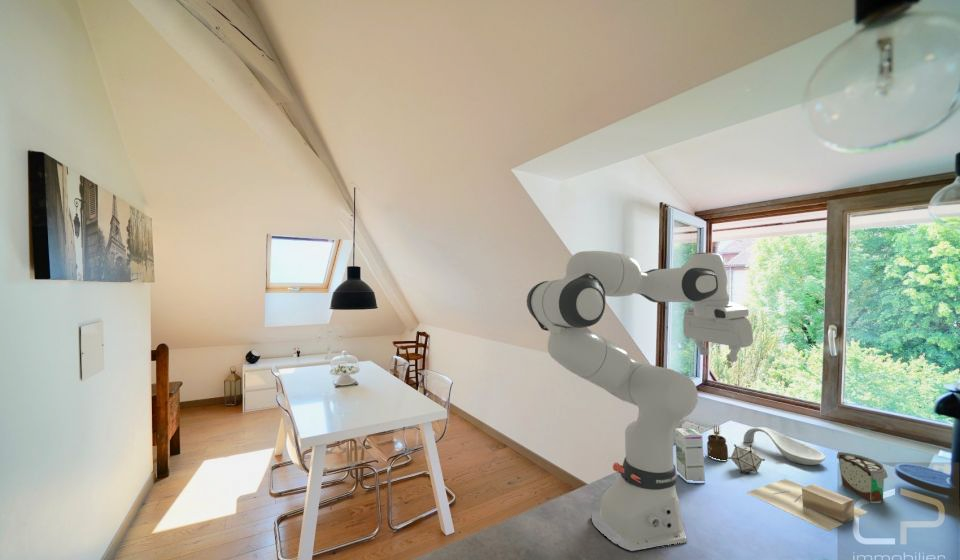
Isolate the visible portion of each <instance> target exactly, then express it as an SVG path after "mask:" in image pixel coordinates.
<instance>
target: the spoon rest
mask: <svg viewBox="0 0 960 560" xmlns="http://www.w3.org/2000/svg"><path fill="white" fill-rule="evenodd" d="M756 432H762V433H764V434H765V435H767V436H768V437H769V438H770V440H771V441H772V442H773V444H774V445H775V447H776V448H777V449H778V451H779V452H780V453H781V454H782V455H783V457H784V458H786V459H787V460H788V461H790V462H792V463H795V464H799V465H804V466H815V465H819V464H821V463H823V462H824V461H825V460H826V455H825V454H824V453H822V452H821V451H819V450H818V449H816V448H813V447H811V446H809V445H806V444H805V443H801V441H797V440H795V439H793V438H791V437H789V436H786V435H785V434H782V433H780V432H778V431H776V430H774V429H771V428H768V427H765V426H763V427H762V426H759V427H752V428H749V429H748V430H747V431H746V432H745V433H744V435H743V441H742V442H744V443H751V442H754V441H755V434H756Z"/></svg>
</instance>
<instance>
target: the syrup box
mask: <svg viewBox="0 0 960 560" xmlns="http://www.w3.org/2000/svg"><path fill="white" fill-rule="evenodd" d="M674 439H675V442H674V443H675V456H676V457H675V459H676V472H677V471H678V472H679V473H680V474H681V475H682V476H683V477H684V478H685V479H686V480H693V481H705V482H706V478H705V476H706V475H705V460H704V444H703V442H704V441H703V434H701V433H700V432H699V431H697V430H695V429H694V428H692V427H691V428H690V427H681V428H680V427H678V428H677V427H676V429H675V432H674Z"/></svg>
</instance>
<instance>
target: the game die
mask: <svg viewBox="0 0 960 560" xmlns="http://www.w3.org/2000/svg"><path fill="white" fill-rule="evenodd" d="M733 446H734V450H733V452H732V454H731V456H728V459H729V460H732V462H733V463H734V464H735V465H736V467H738V469H739V470H740V471H739V473H740V474H743V472H751V473H758V470H759V468H760V466H761V463H762V462H765V461H766V459H765V458H762V457H760V456H759V454H757V452H756V451H755V450H754V448H752V447H753V445H752V444H750V445H749V446H737V445H736V444H733Z"/></svg>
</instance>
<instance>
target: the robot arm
mask: <svg viewBox="0 0 960 560" xmlns="http://www.w3.org/2000/svg"><path fill="white" fill-rule="evenodd" d="M725 265H726V264H725V263H724V259H723V258H722V255H721V254H720V253H715V252H696V253H692V254H690V256H689V259H688V261H687V262H686V263H685V264H684V265H682V266H681V267H673V268H653V269H649V270H647V271H644V272H642V269H641V266H640V264H639V262H638V261H637V260H636V259H635V258H633V257H631V256H630V255H626V254H623V253H619V252H611V251H605V250H585V251H578V252H576V253H574V254H573V255H572V256H571V257H570V258H569V259H568V262H567V264H566V267H565V276H564V277H563V278H562V279H553V280H544V281H542V282H539V283H538V284H535V285H534V286H533V287H531V288H530V290H529V292H528V294H527V296H526V307H527V310H528V311H529V313H530V315H531V316H532V317H533V319H534V320H535V321H536V322H537V324H538V326H539V327H540V328H541V330H543V331H549V337H548V340H547V351H548V354H549V355H550V357H551V359H553V360H554V361H555V362H557V363H558V364H559V365H560V366H562V367H563V368H564V369H566V370H568V371H569V372H570V373H573V374H574V375H576V376H577V377H580V378H581V379H584V380H586V381H587V382H589V383H591V384H594V385H596V386H597V387H599V388H601V389H603V390H605V391H606V392H607V393H609V394H611V395H612V396H614V397H616V398H617V399H619V400H621V401H623V402H626V403H629V404H632V405H633V406H634V405H635V406H637V408H638V415H637V419H636V420H635V421H632V422H630V423H629V424H628V425H627V426H626V427H625V431H624V444H625V445H624V446H625V447H624V448H625V457H624V460H623V463H622V464H620V463H619V462H614V463H613V464H612V470H613V471H614V472H617V474H620V476H619V477H618V478H617V479H616V480H615V481H614V482H613V484H612V485H611V486H609V488H608V489H607V490H605V492H604V493H603V494H602V496H601V499H600V506H599V507H600V508H599V509H600V516H601V518H602V519H603V521H604V522H605V523H606V524H607V525H608V526H609V527H610V528H611V529H612V530H613V531H615V532H616V533H617V534H619V535H620V536H621V537H622V538H624V539H626V540H627V541H629V543H628V544H627V545H628V547H629V548H642V547H649V546H658V545H660V546H661V545H668V546H672V545H671V544H674V545H678V544H679V543H680V544H685V543H686V542H687V540H688V539H687V535H686V533H685V531H684V530H685V524H684V521H683V519H682V513H681V508H680V507H681V506H680V501H679V497H678V493H677V489H676V483H677V476H678V474H677V467H676V465H675V463H674V438H675V429H677V426H678V424H679V423H680V421H681V420H682V419H683V418H685V417H687V416H689V415H691V413H693V411H694V410H695V408H696V406H697V405H698V399H699V395H698V389H697V386H696V384H695V382H694V380H693V379H692V378H690V377H688V376H687V375H685V374H683V373H680V372H679V371H676V370H673V369H671V368H667V367H662V366H657V365H653V364H649V363H645V362H643V361H642V362H641V361H638V360H634V359H633V358H631V357H630V356H629V354H628V352H627V351H626V350H625V348H623V347H621V346H619V345H618V344H616V343H614V342H611V340H608V339H607V338H604V337H603V336H602V335H599V334H598V333H596V332H593V331H592V330H590V329H589V328H588V327H591V326H594V325H596V324H597V323H598V322H599V321H601V319H602V317H603V315H604V313H605V310H606V297H614V298H616V297H617V298H618V297H619V298H620V297H629V296H632V295H633V294H637V295H640V296H642V297H644V298H645V299H646V300H648V301H649V302H652V303H692V305H693V306H692V307H687V308H686V309H685V310H684V315H683V316H684V317H683V319H682V320H683V321H682V322H683V328H682V329H683V335H684V336H685V338H687V339H690V340H691V339H692V340H694V343H695V345H696V346H697V348H698V353H699V355H702V356H708V355H709V349H708V348H707V347H706V345H705V342H707V343H713V344H718V345H725V346H728V349H729V350H730V352H729V354H726V360H727V361H728V362H730V363H731V362H732V363H736V362H737V361H738V354H739V351H740V350H741V348H747V347H751V346H752V345H753V342H754V335H753V329H752V324H751V322H750V319H748V316H749V313H750V312H749V309H748V308H747V307H744V306H741V305H739V304H737V303H734V302H732V301H731V300H730V299H731V298H730V295H729V294H728V290H727V286H728V276H727V271H726V267H725ZM677 543H678V544H677ZM669 544H670V545H669Z"/></svg>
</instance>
